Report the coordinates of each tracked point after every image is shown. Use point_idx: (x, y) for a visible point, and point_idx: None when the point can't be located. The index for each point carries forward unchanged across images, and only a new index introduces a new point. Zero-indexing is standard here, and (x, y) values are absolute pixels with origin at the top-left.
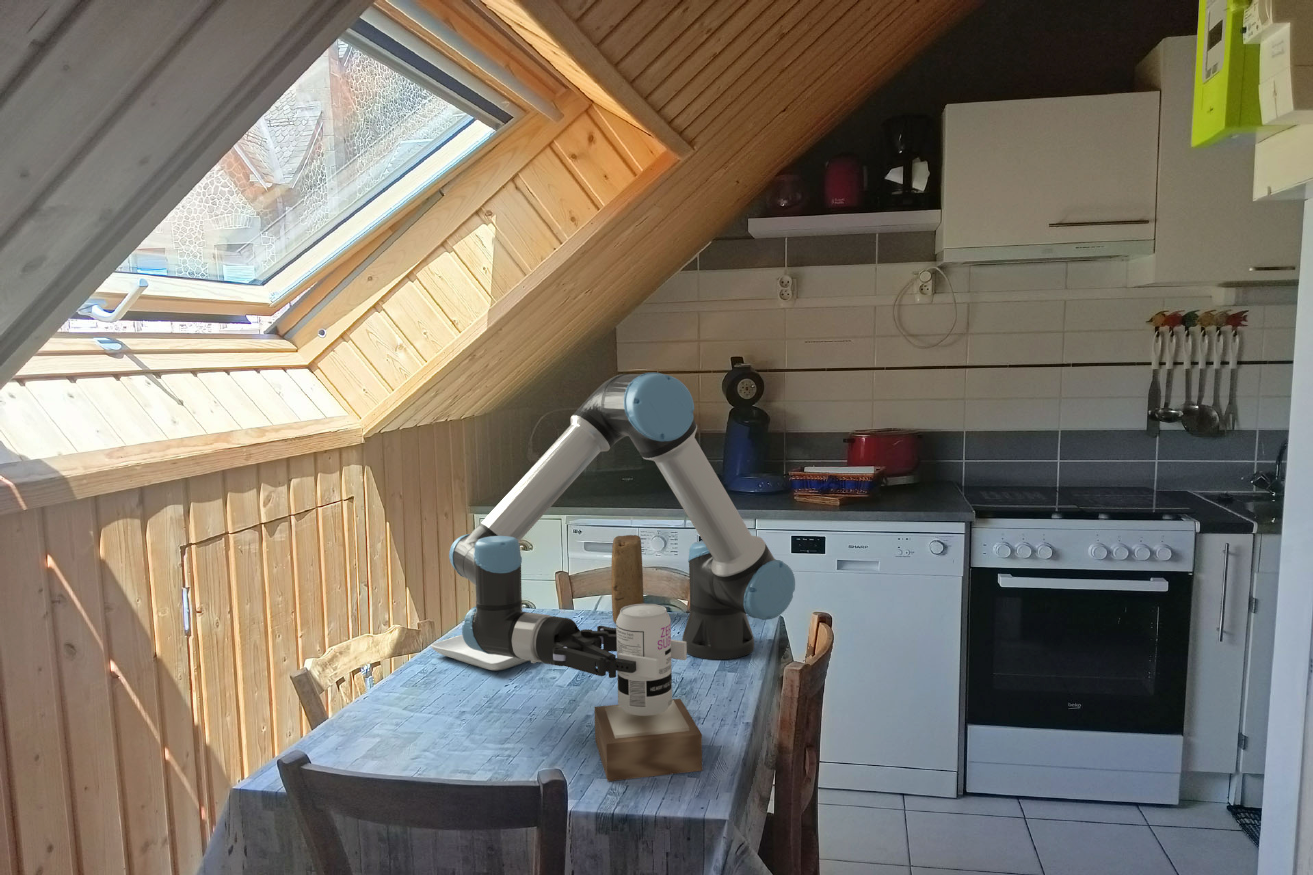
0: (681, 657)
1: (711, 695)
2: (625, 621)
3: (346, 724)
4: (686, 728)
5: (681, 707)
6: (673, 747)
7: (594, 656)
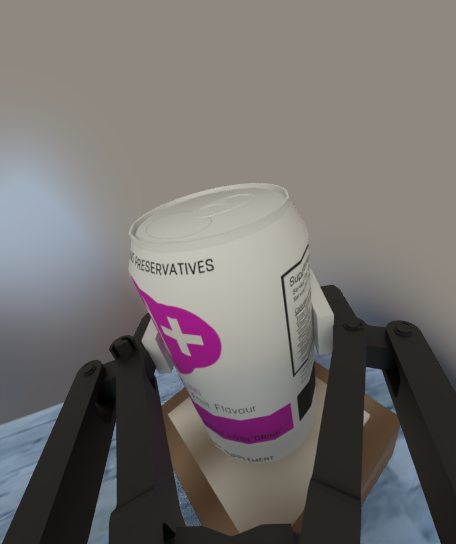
0: None
1: (6, 484)
2: (298, 219)
3: None
4: None
5: (185, 394)
6: None
7: (414, 360)
